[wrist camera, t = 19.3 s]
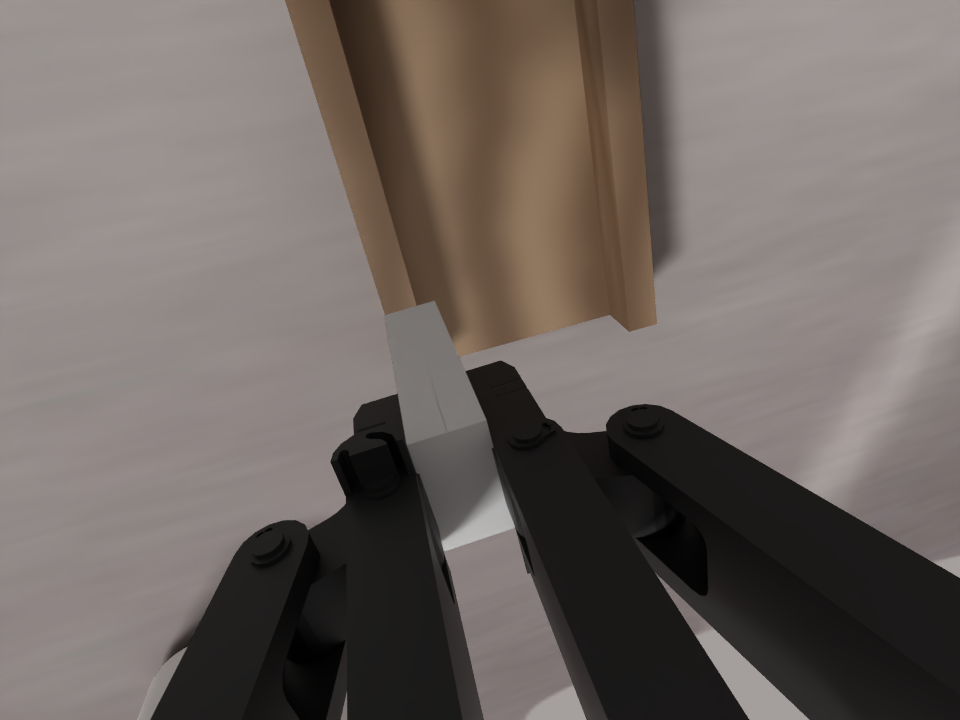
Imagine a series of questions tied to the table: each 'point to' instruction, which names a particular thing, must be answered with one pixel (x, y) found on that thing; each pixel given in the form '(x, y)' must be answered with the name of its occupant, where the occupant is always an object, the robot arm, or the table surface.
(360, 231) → the channel
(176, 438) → the table surface
